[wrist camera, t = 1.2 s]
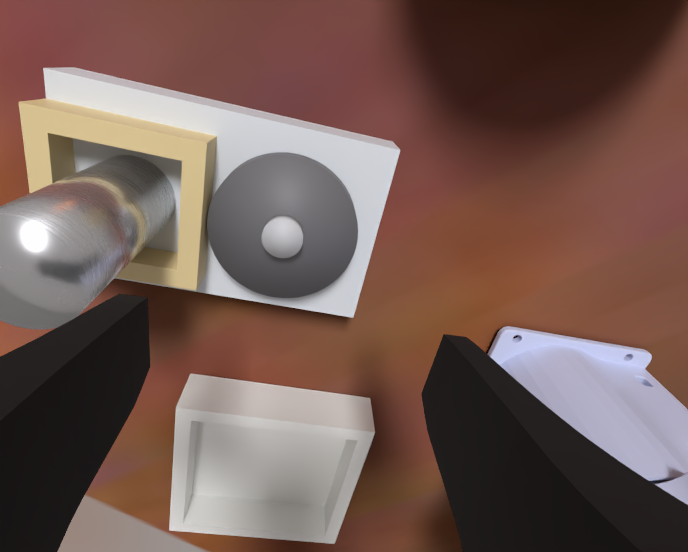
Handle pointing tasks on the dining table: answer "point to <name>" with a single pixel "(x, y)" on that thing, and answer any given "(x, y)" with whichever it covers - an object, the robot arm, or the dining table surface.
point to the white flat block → (225, 187)
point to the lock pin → (77, 238)
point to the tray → (266, 459)
